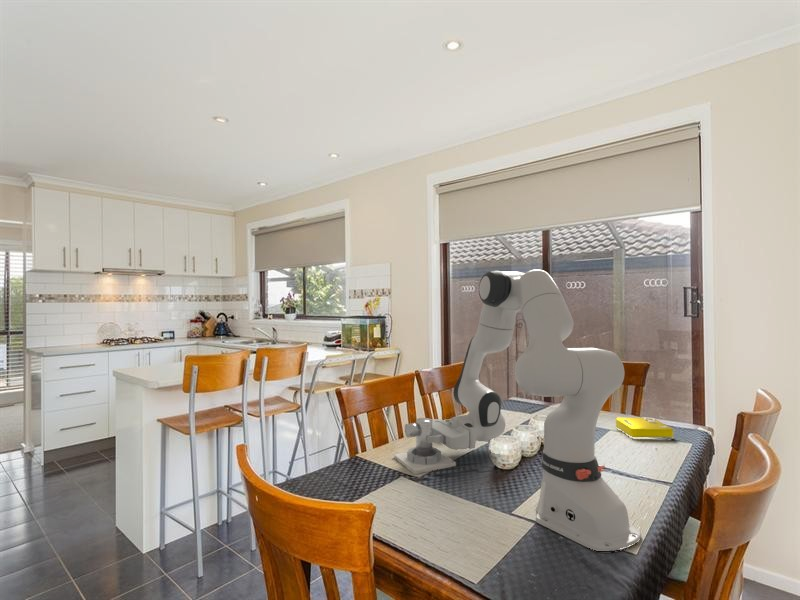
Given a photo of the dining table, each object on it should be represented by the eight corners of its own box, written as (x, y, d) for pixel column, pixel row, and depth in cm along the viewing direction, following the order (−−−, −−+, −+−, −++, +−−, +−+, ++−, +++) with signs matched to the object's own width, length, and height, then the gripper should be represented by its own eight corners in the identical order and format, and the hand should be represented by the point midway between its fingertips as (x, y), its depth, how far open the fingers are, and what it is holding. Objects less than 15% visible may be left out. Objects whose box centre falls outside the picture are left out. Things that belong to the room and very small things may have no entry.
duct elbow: (435, 456, 133) (435, 421, 133) (411, 461, 129) (411, 424, 129) (427, 451, 137) (427, 417, 137) (404, 455, 134) (403, 420, 134)
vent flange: (455, 465, 131) (455, 455, 131) (414, 474, 125) (414, 463, 125) (432, 450, 143) (432, 441, 143) (394, 457, 137) (394, 448, 137)
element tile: (613, 428, 169) (613, 415, 169) (653, 428, 169) (653, 416, 169) (632, 441, 154) (632, 427, 154) (675, 441, 154) (676, 428, 154)
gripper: (442, 412, 149) (406, 417, 143) (478, 429, 130) (438, 435, 124) (442, 431, 149) (406, 436, 143) (478, 450, 130) (438, 457, 125)
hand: (421, 436), depth 134 cm, fingers closed on duct elbow, 5 cm apart
